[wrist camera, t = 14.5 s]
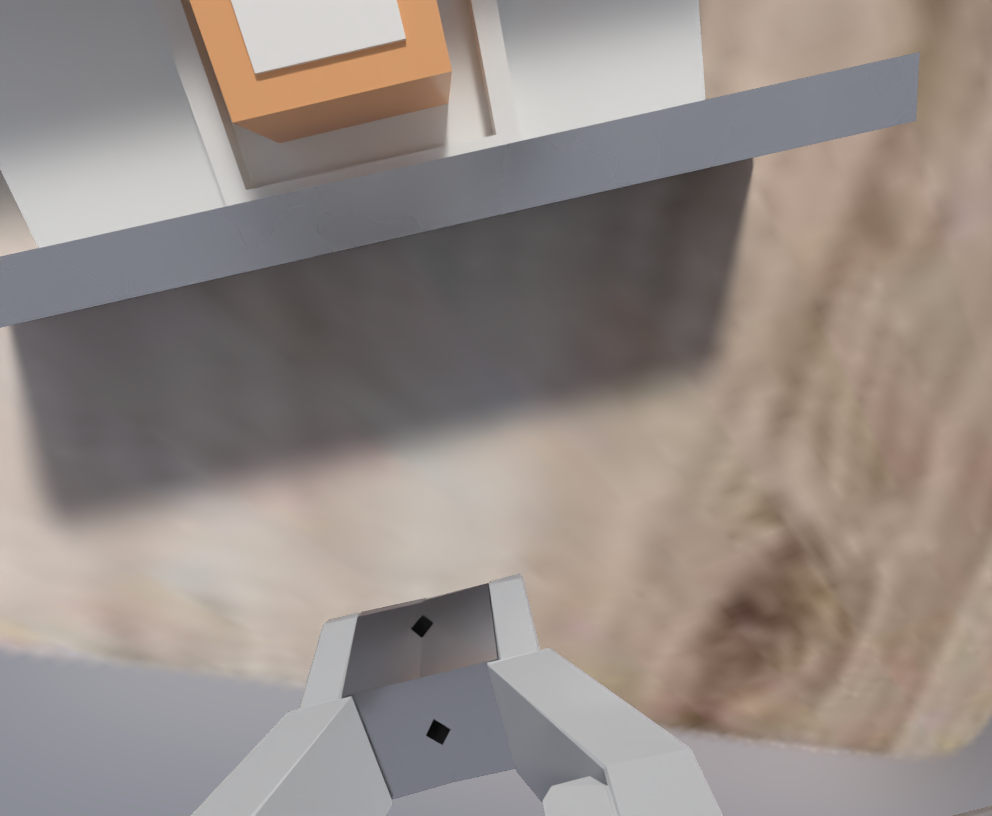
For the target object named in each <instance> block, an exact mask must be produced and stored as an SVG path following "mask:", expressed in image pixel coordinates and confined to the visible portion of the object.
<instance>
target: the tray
mask: <svg viewBox="0 0 992 816" xmlns="http://www.w3.org/2000/svg"><path fill="white" fill-rule="evenodd" d="M437 5H438V9H439V14H440V18H441V23H442V27H443V32H444V37H445V41H446V46H447V50H448V55H449V59H450V64H451V69H452V76H451V85H450V94H449V103H448V104H444V105H440V106H435V107H431V108H427V109H423V110H418V111H414V112H410V113H406V114H401V115H397V116H393V117H389V118H384V119H380V120H376V121H372V122H367V123H363V124H359V125H355V126H350V127H346V128H342V129H338V130H334V131H329V132H325V133H321V134H317V135H312V136H308V137H304V138H300V139H295V140H291V141H287V142H283V143H278V142H275V141H273V140H271V139H269V138H266V137H264V136H262V135H259V134H257V133H255V132H253V131H250V130H248V129H246V128H244V127H241V126H239V125H237V124H235V123H233V122H232V119H231V117H230V114H229V111H228V108H227V105H226V102H225V100H224V97H223V94H222V91H221V88H220V85H219V82H218V80H217V77H216V74H215V71H214V68H213V65H212V63H211V60H210V57H209V54H208V51H207V48H206V46H205V43H204V40H203V37H202V34H201V31H200V28H199V26H198V23H197V20H196V17H195V14H194V11H193V9H192V6H191V3H190V0H0V170H1V172H2V174H3V176H4V178H5V180H6V182H7V184H8V187H9V189H10V191H11V193H12V195H13V197H14V199H15V201H16V203H17V205H18V207H19V209H20V211H21V213H22V215H23V217H24V219H25V222H26V224H27V226H28V228H29V230H30V232H31V234H32V236H33V238H34V240H35V242H36V244H37V246H38V248H37V249H33V250H28V251H24V252H19V253H15V254H10V255H6V256H1V257H0V328H1V327H5V326H9V325H14V324H18V323H23V322H27V321H32V320H36V319H40V318H45V317H49V316H54V315H58V314H63V313H67V312H71V311H76V310H80V309H85V308H89V307H94V306H98V305H102V304H107V303H111V302H116V301H120V300H125V299H129V298H133V297H138V296H142V295H147V294H151V293H156V292H160V291H164V290H169V289H173V288H178V287H182V286H187V285H191V284H195V283H200V282H204V281H209V280H213V279H218V278H222V277H226V276H231V275H235V274H240V273H244V272H249V271H253V270H257V269H262V268H266V267H271V266H275V265H280V264H284V263H288V262H293V261H297V260H302V259H306V258H311V257H315V256H319V255H324V254H328V253H333V252H337V251H342V250H346V249H350V248H355V247H359V246H364V245H368V244H373V243H377V242H381V241H386V240H390V239H395V238H399V237H404V236H408V235H413V234H417V233H421V232H426V231H430V230H435V229H439V228H444V227H448V226H452V225H457V224H461V223H466V222H470V221H475V220H479V219H483V218H488V217H492V216H497V215H501V214H506V213H510V212H514V211H519V210H523V209H528V208H532V207H537V206H541V205H545V204H550V203H554V202H559V201H563V200H568V199H572V198H576V197H581V196H585V195H590V194H594V193H599V192H603V191H607V190H612V189H616V188H621V187H625V186H630V185H634V184H638V183H643V182H647V181H652V180H656V179H661V178H665V177H669V176H674V175H678V174H683V173H687V172H692V171H696V170H700V169H705V168H709V167H714V166H718V165H723V164H727V163H731V162H736V161H740V160H745V159H749V158H754V157H758V156H762V155H767V154H771V153H776V152H780V151H785V150H789V149H793V148H798V147H802V146H807V145H811V144H816V143H820V142H824V141H829V140H833V139H838V138H842V137H847V136H851V135H856V134H860V133H864V132H869V131H873V130H878V129H882V128H887V127H891V126H895V125H900V124H904V123H909V122H913V121H916V110H917V91H918V72H919V53H920V52H918V53H914V54H909V55H905V56H900V57H896V58H891V59H887V60H882V61H878V62H873V63H869V64H864V65H860V66H855V67H851V68H846V69H842V70H837V71H833V72H828V73H824V74H819V75H815V76H810V77H806V78H801V79H797V80H792V81H788V82H783V83H779V84H774V85H770V86H765V87H761V88H756V89H752V90H747V91H743V92H738V93H734V94H729V95H725V96H720V97H716V98H711V99H707V100H705V88H704V73H703V58H702V44H701V29H700V14H699V0H437Z"/></svg>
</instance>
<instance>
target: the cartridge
mask: <svg viewBox="0 0 992 816" xmlns="http://www.w3.org/2000/svg"><path fill="white" fill-rule="evenodd" d="M190 3H191V6H192V9H193V11H194V14H195V17H196V20H197V23H198V26H199V28H200V31H201V34H202V37H203V40H204V43H205V46H206V48H207V51H208V54H209V57H210V60H211V63H212V65H213V68H214V71H215V74H216V77H217V80H218V82H219V85H220V88H221V91H222V94H223V97H224V100H225V102H226V105H227V108H228V111H229V114H230V117H231V119H232V122H233V123H235V124H237V125H239V126H241V127H244V128H246V129H248V130H250V131H253V132H255V133H257V134H259V135H262V136H264V137H266V138H269V139H271V140H273V141H275V142H278V143H283V142H287V141H291V140H295V139H300V138H304V137H308V136H312V135H317V134H321V133H325V132H329V131H334V130H338V129H342V128H346V127H350V126H355V125H359V124H363V123H367V122H372V121H376V120H380V119H384V118H389V117H393V116H397V115H401V114H406V113H410V112H414V111H418V110H423V109H427V108H431V107H435V106H440V105H444V104H448V103H449V94H450V85H451V76H452V69H451V64H450V59H449V55H448V50H447V46H446V41H445V37H444V32H443V27H442V23H441V18H440V14H439V9H438V5H437V0H190Z"/></svg>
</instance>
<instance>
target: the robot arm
mask: <svg viewBox="0 0 992 816" xmlns="http://www.w3.org/2000/svg"><path fill="white" fill-rule="evenodd" d="M511 769H516V770H517V772H518V774H519V775H520V776H521V777H522V778H523V780H524V781H525V782H526V783H527V785H528V786H529V787H530V788H531V790H532V791H533V792H534V793H535V794H536V796H537V797H538V798H539V799H540V801H541V802H542V803H543V807H544V813H545V816H723V815H722V813H721V810H720V808H719V806H718V804H717V802H716V800H715V798H714V796H713V794H712V792H711V790H710V787H709V785H708V783H707V781H706V779H705V777H704V775H703V773H702V771H701V769H700V767H699V765H698V762H697V761H696V758H695V756H694V754H693V752H692V750H691V748H690V747H688V746H687V745H685V744H684V743H683V742H681V741H680V740H678V739H677V738H676V737H674V736H673V735H671V734H670V733H669V732H667V731H666V730H664V729H663V728H662V727H660V726H659V725H657V724H656V723H655V722H653V721H652V720H651V719H649V718H648V717H646V716H645V715H644V714H642V713H641V712H639V711H638V710H637V709H635V708H634V707H632V706H631V705H630V704H628V703H627V702H625V701H624V700H623V699H621V698H620V697H618V696H617V695H616V694H614V693H613V692H611V691H610V690H609V689H607V688H606V687H604V686H603V685H602V684H600V683H599V682H597V681H596V680H595V679H593V678H592V677H591V676H589V675H588V674H586V673H585V672H584V671H582V670H581V669H579V668H578V667H577V666H575V665H574V664H572V663H571V662H570V661H568V660H567V659H565V658H564V657H563V656H561V655H560V654H558V653H557V652H556V651H554V650H553V649H551V648H547V649H543V650H540V647H539V642H538V638H537V634H536V630H535V626H534V621H533V617H532V613H531V609H530V605H529V600H528V596H527V592H526V588H525V584H524V579H523V576H522V575H521V574H516V575H512V576H509V577H505V578H501V579H498V580H494V581H490V582H489V583H487V584H483V585H479V586H475V587H471V588H467V589H463V590H459V591H455V592H451V593H447V594H442V595H438V596H434V597H430V598H423V599H419V600H414V601H409V602H405V603H400V604H396V605H391V606H386V607H382V608H377V609H373V610H368V611H363V612H361V613H355V614H351V615H346V616H342V617H338V618H334V619H329V620H328V621H327V622H326V623H325V624H324V625H323V627H322V630H321V634H320V637H319V641H318V644H317V648H316V651H315V655H314V658H313V662H312V665H311V668H310V672H309V675H308V679H307V682H306V686H305V689H304V693H303V696H302V700H301V703H300V707H299V709H297V710H293V711H289V712H287V713H286V715H285V716H284V717H283V718H282V719H281V720H280V721H279V722H278V723H277V724H276V725H275V726H274V727H273V729H272V730H271V731H270V732H269V733H268V734H267V735H266V736H265V737H264V738H263V739H262V740H261V741H260V742H259V743H258V744H257V745H256V747H255V748H254V749H253V750H252V751H251V752H250V753H249V754H248V755H247V756H246V757H245V759H243V760H242V761H241V763H240V764H239V765H238V766H237V767H236V768H235V769H234V770H233V771H232V772H231V773H230V774H229V775H228V777H226V779H225V780H224V781H223V782H222V783H221V784H220V785H219V786H218V787H217V788H216V789H215V790H214V791H213V792H212V793H211V795H210V796H209V797H208V798H207V799H206V800H205V801H204V802H203V803H202V804H201V805H200V806H199V807H198V808H197V810H196V811H195V812H194V813H193V814H192V815H191V816H387V814H388V812H389V810H390V808H391V806H392V805H393V802H392V799H395V798H399V797H402V796H406V795H409V794H413V793H416V792H420V791H423V790H427V789H430V788H434V787H438V786H441V785H445V784H448V783H452V782H456V781H460V780H465V779H470V778H474V777H479V776H484V775H488V774H493V773H497V772H502V771H507V770H511ZM954 816H992V806H989V807H985V808H981V809H977V810H973V811H969V812H965V813H961V814H958V815H954Z"/></svg>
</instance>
